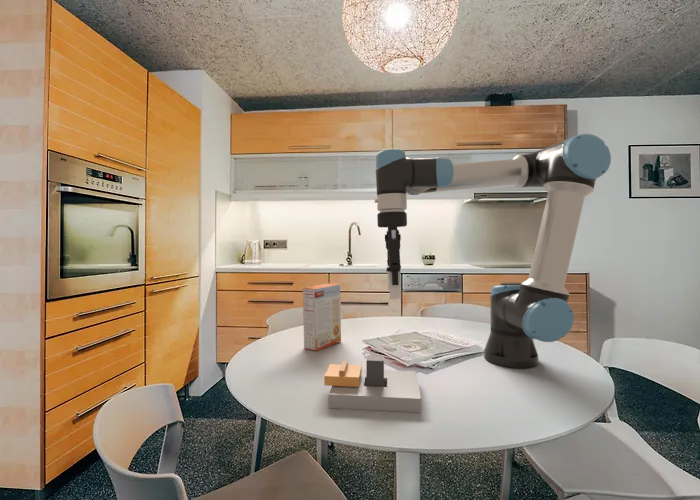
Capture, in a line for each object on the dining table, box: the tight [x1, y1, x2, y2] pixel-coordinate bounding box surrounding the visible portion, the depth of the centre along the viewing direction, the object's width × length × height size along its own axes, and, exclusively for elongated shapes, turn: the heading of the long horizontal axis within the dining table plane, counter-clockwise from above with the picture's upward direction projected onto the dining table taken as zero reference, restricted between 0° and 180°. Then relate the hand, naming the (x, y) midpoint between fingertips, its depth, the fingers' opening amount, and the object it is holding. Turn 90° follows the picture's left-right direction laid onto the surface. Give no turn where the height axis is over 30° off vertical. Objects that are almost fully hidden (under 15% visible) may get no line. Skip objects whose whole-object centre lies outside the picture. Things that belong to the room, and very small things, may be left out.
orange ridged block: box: [323, 359, 363, 387], centre depth 88 cm, size 8×8×3 cm
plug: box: [365, 354, 385, 387], centre depth 86 cm, size 4×4×9 cm
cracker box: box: [302, 282, 342, 352], centre depth 126 cm, size 14×6×21 cm, turn 144°
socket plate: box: [328, 368, 422, 414], centre depth 87 cm, size 20×16×3 cm
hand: (394, 294), depth 94 cm, fingers open, 13 cm apart
